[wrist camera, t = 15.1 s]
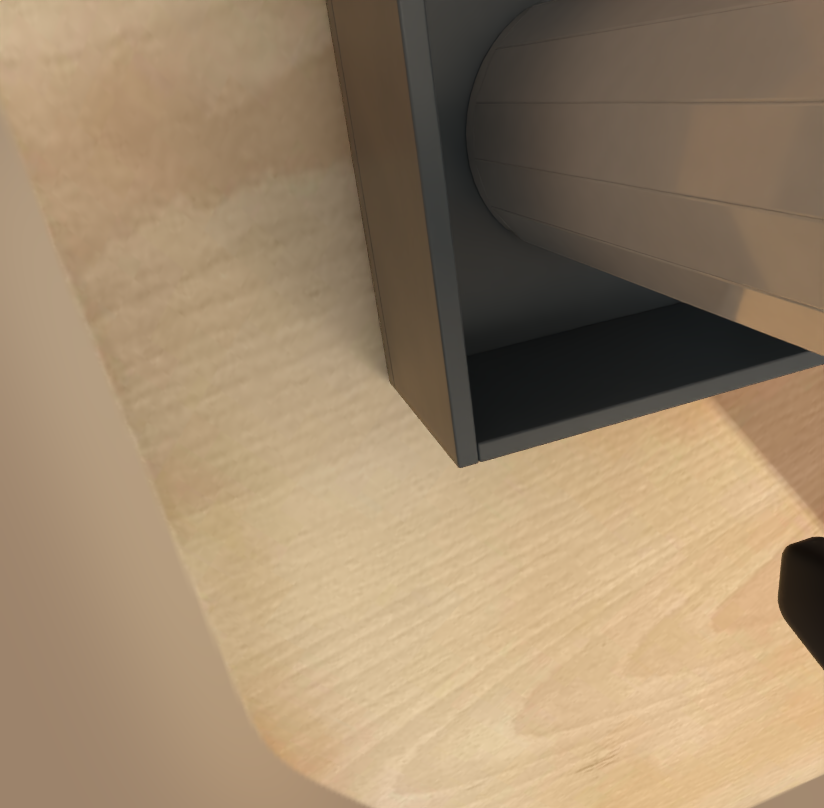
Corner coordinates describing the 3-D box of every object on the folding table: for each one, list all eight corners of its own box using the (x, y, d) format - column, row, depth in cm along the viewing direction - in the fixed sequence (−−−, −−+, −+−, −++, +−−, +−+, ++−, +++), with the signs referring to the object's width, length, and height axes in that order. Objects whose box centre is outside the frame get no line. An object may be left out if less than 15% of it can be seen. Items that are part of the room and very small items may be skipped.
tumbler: (567, 296, 21) (1057, 530, 9) (414, 132, 18) (857, 180, 6) (723, 123, 20) (1445, 148, 9) (593, -75, 17) (1420, -425, 6)
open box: (389, 383, 21) (458, 469, 16) (305, -119, 16) (368, -221, 11) (744, 293, 23) (898, 343, 19) (768, -163, 18) (987, -260, 14)
